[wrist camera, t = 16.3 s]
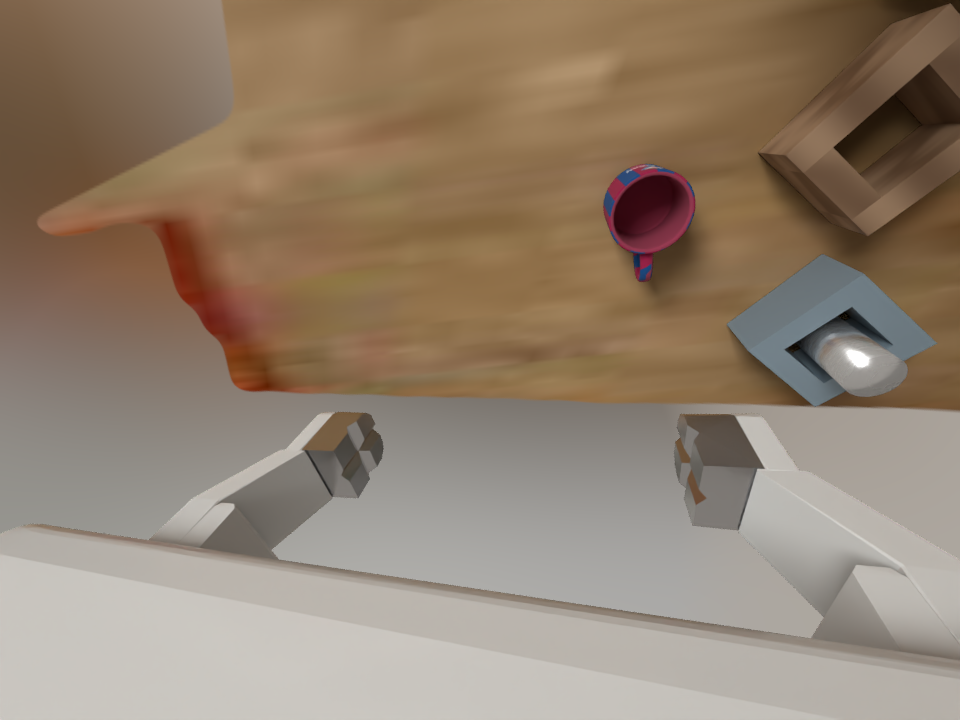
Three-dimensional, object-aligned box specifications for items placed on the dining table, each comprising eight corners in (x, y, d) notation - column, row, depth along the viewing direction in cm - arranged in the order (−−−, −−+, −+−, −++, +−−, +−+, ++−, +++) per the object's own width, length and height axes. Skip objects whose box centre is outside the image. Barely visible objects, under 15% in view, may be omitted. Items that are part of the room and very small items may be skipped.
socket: (822, 253, 34) (863, 273, 30) (887, 314, 36) (936, 343, 31) (726, 324, 40) (748, 350, 35) (786, 374, 41) (815, 407, 37)
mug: (682, 161, 33) (705, 166, 28) (661, 267, 38) (676, 289, 33) (607, 166, 35) (613, 172, 29) (596, 267, 40) (600, 288, 34)
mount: (891, 23, 26) (950, 3, 22) (971, 115, 28) (1041, 112, 24) (758, 152, 32) (785, 155, 27) (831, 223, 33) (868, 236, 29)
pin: (810, 294, 37) (887, 346, 28) (835, 317, 37) (919, 376, 28) (771, 321, 39) (831, 377, 30) (796, 342, 39) (862, 404, 30)
